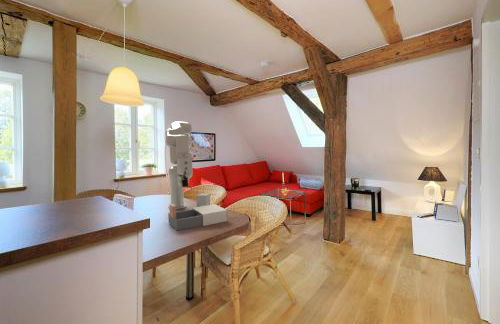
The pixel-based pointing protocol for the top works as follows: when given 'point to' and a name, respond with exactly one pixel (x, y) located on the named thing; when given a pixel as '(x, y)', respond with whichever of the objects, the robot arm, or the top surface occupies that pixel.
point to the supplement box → (203, 199)
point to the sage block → (181, 181)
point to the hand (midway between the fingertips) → (183, 185)
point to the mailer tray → (184, 218)
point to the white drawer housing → (212, 214)
